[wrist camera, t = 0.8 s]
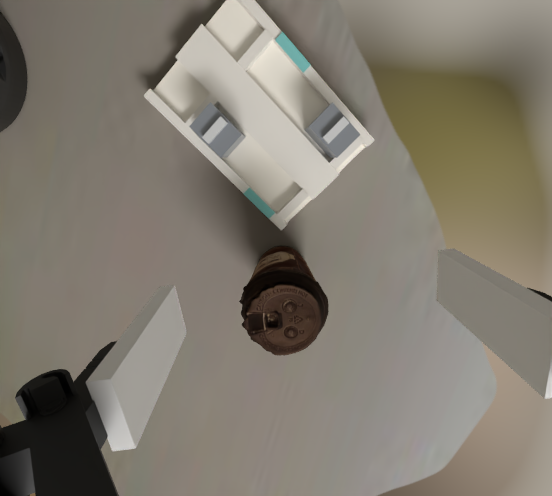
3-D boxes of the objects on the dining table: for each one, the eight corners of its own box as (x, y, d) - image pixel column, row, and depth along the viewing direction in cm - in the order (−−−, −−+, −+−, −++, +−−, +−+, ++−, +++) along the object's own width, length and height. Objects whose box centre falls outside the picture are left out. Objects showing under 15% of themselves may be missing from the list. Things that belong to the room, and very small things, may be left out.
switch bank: (152, 100, 34) (142, 95, 32) (239, -8, 31) (236, -22, 29) (280, 225, 38) (281, 231, 36) (367, 141, 36) (375, 140, 33)
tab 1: (199, 130, 34) (187, 126, 29) (218, 108, 33) (208, 101, 28) (227, 157, 35) (219, 157, 30) (245, 136, 34) (241, 134, 29)
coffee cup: (234, 275, 40) (216, 329, 28) (271, 223, 38) (270, 257, 26) (289, 310, 42) (295, 376, 29) (327, 262, 40) (351, 311, 27)
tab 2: (304, 130, 34) (309, 126, 29) (324, 108, 33) (333, 101, 28) (329, 157, 35) (338, 157, 30) (349, 137, 34) (362, 134, 29)
